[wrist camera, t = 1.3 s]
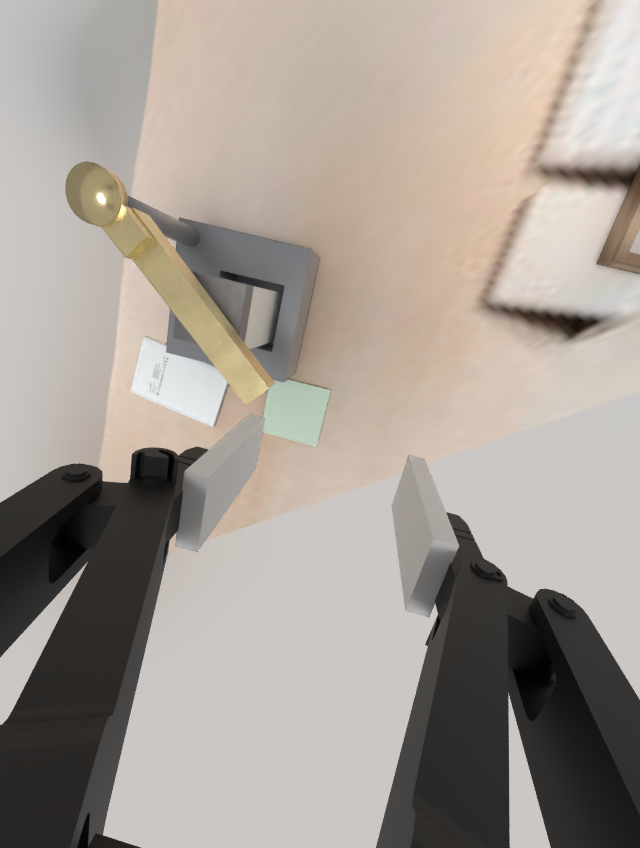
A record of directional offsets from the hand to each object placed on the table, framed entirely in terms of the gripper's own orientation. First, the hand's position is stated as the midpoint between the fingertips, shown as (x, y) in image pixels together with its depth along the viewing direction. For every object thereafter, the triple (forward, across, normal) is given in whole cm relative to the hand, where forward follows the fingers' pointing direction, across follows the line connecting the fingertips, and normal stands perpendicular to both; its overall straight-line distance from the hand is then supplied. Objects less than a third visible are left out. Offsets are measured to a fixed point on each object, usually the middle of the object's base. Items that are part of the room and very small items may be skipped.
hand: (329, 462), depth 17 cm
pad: (+31, -6, -8) cm, 32 cm away
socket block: (+31, -14, +4) cm, 34 cm away
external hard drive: (+32, -22, -8) cm, 39 cm away
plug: (+29, -12, +4) cm, 32 cm away
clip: (+13, -14, +5) cm, 20 cm away
